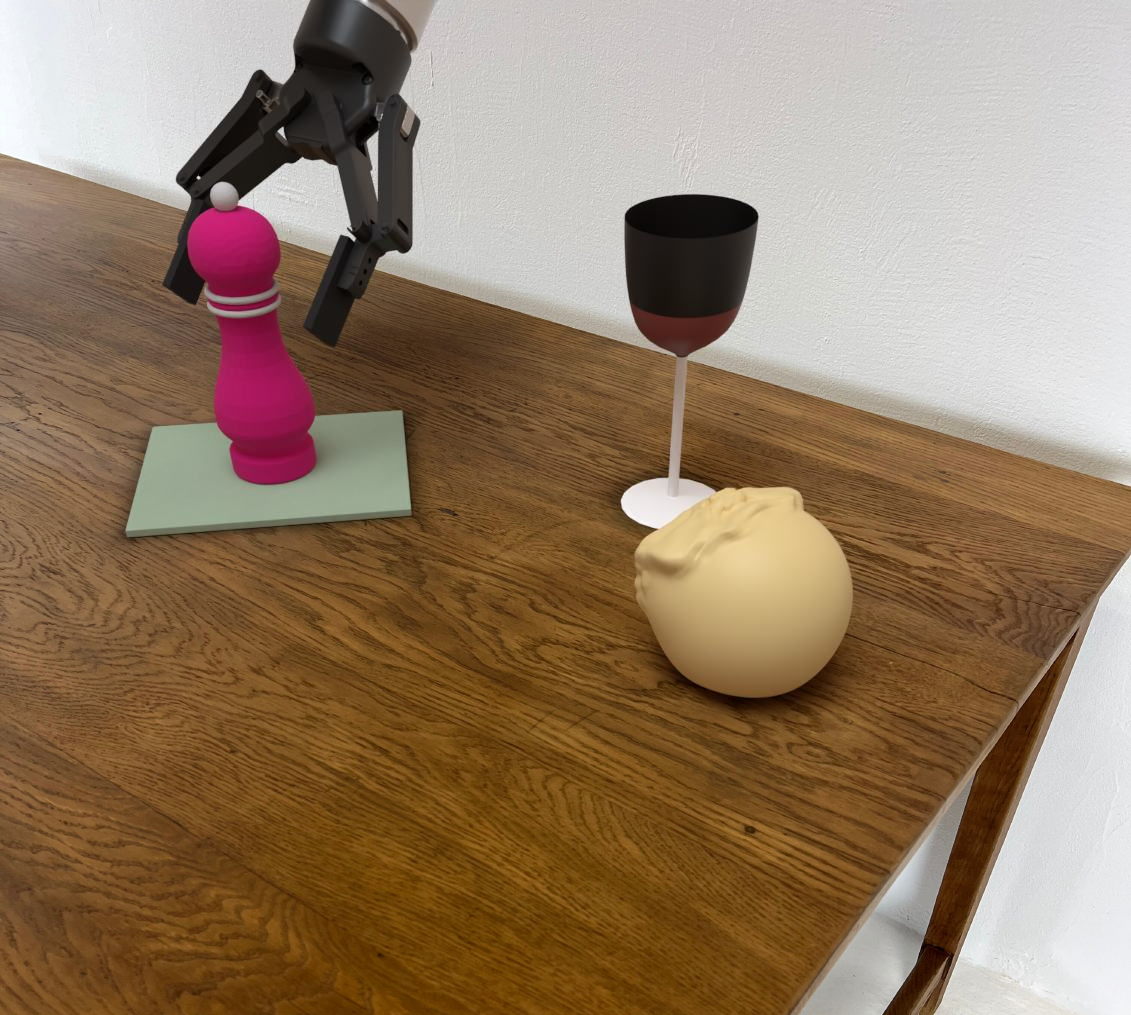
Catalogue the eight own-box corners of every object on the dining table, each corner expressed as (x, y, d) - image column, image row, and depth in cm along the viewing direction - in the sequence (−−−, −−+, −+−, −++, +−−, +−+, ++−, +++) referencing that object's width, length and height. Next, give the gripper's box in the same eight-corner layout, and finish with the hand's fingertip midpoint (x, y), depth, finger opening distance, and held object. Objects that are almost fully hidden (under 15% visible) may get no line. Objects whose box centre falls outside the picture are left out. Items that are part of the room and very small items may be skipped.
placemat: (127, 537, 80) (125, 530, 80) (154, 433, 92) (152, 426, 92) (411, 516, 82) (411, 508, 82) (402, 416, 94) (402, 409, 94)
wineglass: (751, 498, 84) (785, 211, 71) (678, 546, 79) (700, 248, 66) (666, 463, 88) (683, 185, 75) (592, 507, 83) (596, 218, 70)
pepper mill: (293, 433, 91) (245, 159, 77) (341, 467, 86) (299, 184, 73) (210, 461, 87) (144, 180, 74) (255, 498, 83) (195, 207, 70)
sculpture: (729, 583, 76) (745, 433, 69) (875, 666, 69) (911, 509, 62) (603, 653, 70) (606, 497, 63) (749, 750, 64) (772, 589, 56)
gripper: (535, 86, 76) (413, 381, 77) (267, 43, 87) (162, 303, 88) (484, 5, 70) (350, 330, 71) (199, -31, 80) (86, 252, 81)
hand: (246, 316), depth 79 cm, fingers open, 13 cm apart
